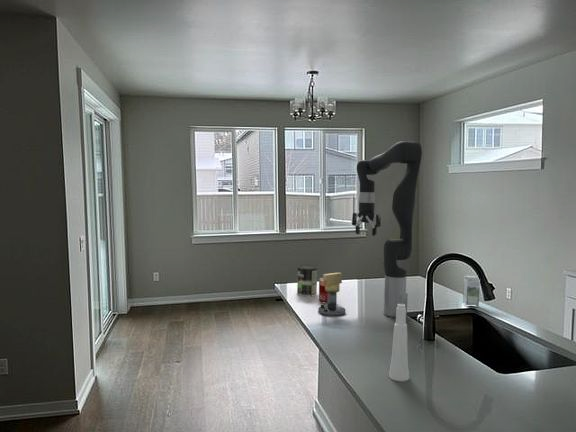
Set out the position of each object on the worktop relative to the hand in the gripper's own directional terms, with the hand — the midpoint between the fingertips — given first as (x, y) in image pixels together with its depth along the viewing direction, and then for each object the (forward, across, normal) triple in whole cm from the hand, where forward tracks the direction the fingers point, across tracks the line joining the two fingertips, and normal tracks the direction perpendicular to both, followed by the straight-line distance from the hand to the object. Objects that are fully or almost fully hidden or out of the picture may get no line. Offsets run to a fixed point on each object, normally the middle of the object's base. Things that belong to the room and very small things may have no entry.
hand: (365, 234), depth 226 cm
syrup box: (+32, -44, -23) cm, 60 cm away
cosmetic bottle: (+32, -51, +75) cm, 96 cm away
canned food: (+32, +13, +14) cm, 37 cm away
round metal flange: (+32, +1, +29) cm, 43 cm away
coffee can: (+33, +29, +8) cm, 44 cm away
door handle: (+22, +1, +29) cm, 37 cm away
